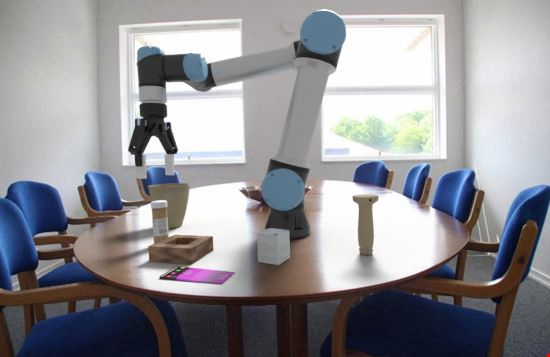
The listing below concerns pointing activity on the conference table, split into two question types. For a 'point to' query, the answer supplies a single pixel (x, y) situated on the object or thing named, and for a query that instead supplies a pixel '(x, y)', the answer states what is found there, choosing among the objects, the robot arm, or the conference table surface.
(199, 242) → the bore block
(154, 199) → the plant pot
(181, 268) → the smartphone
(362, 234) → the handle
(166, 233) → the sprinkles bottle
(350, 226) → the conference table surface
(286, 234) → the skincare box
